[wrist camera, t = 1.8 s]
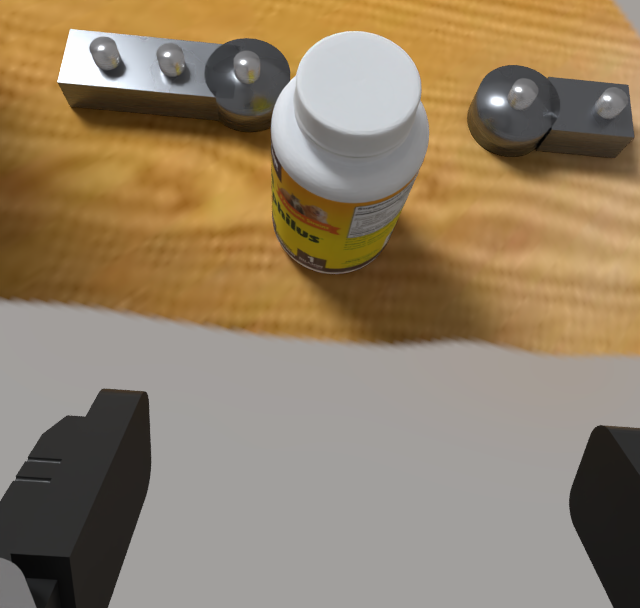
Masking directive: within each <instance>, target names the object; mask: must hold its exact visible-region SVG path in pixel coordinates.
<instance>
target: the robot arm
mask: <svg viewBox="0 0 640 608" xmlns="http://www.w3.org/2000/svg"><path fill="white" fill-rule="evenodd" d="M150 472H151V443H150V419H149V399H148V395H147V393H146V392H144V391H130V390H116V389H102V390H101V391H100V392H99V394H98V395H97V397H96V399H95V401H94V403H93V404H92V406H91V408H90V410H89V412H88V413H87V415H86V417H82V416H81V417H80V416H66V417H64V418H63V419H62V420H60V421H59V422H58V423H57V424H55V425H54V426H52V427H51V428H50V429H49V430H47V431H46V432H45V433H43V434H42V436H41V437H40V439H39V440H38V442H37V444H36V445H35V447H34V448H33V450H32V451H31V453H30V455H29V456H28V461H27V462H25V463H24V464H23V466H22V467H21V469H20V471H19V472H18V474H17V475H16V480H15V481H13V482H12V483H11V485H10V486H9V488H8V490H7V491H6V493H5V494H4V496H3V498H2V499H1V501H0V608H108V605H109V602H110V600H111V597H112V594H113V591H114V588H115V585H116V582H117V579H118V576H119V573H120V570H121V567H122V565H123V561H124V559H125V556H126V553H127V550H128V547H129V544H130V541H131V538H132V535H133V532H134V530H135V527H136V524H137V521H138V518H139V515H140V512H141V509H142V506H143V503H144V500H145V497H146V494H147V490H148V485H149V480H150ZM569 507H570V515H571V519H572V522H573V525H574V527H575V529H576V531H577V533H578V536H579V537H580V540H581V542H582V544H583V546H584V548H585V550H586V552H587V554H588V556H589V558H590V560H591V562H592V564H593V566H594V569H595V570H596V573H597V575H598V577H599V579H600V581H601V583H602V585H603V587H604V589H605V591H606V593H607V595H608V597H609V599H610V601H611V603H612V605H613V608H640V428H630V427H616V426H602V425H600V426H597V427H595V428H594V430H593V431H592V433H591V435H590V438H589V440H588V443H587V446H586V449H585V451H584V454H583V457H582V460H581V462H580V465H579V468H578V471H577V474H576V476H575V479H574V482H573V485H572V488H571V491H570V498H569Z"/></svg>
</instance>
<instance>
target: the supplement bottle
mask: <svg viewBox="0 0 640 608" xmlns="http://www.w3.org/2000/svg"><path fill="white" fill-rule="evenodd" d="M420 98H421V79H420V76H419V72H418V70H417V68H416V66H415V64H414V62H413V61H412V59H411V58H410V57H409V55H408V54H407V53H406V52H405V51H404V50H403V49H402V48H401V47H399V46H398V45H396V44H395V43H393V42H392V41H390V40H388V39H386V38H384V37H381V36H379V35H376V34H372V33H367V32H360V31H348V32H342V33H337V34H334V35H331V36H328V37H326V38H324V39H322V40H320V41H319V42H317V43H316V44H315V45H313V46H312V47H311V48H310V49H309V50H308V51H307V53H306V54H305V55H304V57H303V58H302V60H301V62H300V64H299V67H298V70H297V75H296V76H295V77H294V78H293V79H292V80H291V81H290V82H289V83H288V84H287V85H286V86H285V87H284V89H283V90H282V92H281V94H280V95H279V97H278V99H277V101H276V104H275V107H274V110H273V114H272V121H271V161H272V167H271V172H272V173H271V176H272V219H273V226H274V230H275V233H276V236H277V239H278V241H279V242H280V244H281V246H282V247H283V249H284V250H285V251H286V252H287V253H288V255H289V256H290V257H292V258H293V259H294V260H295V261H297V262H298V263H299V264H301V265H303V266H304V267H306V268H309V269H311V270H314V271H317V272H321V273H327V274H342V273H348V272H352V271H355V270H358V269H360V268H362V267H364V266H366V265H367V264H369V263H370V262H372V261H373V260H374V259H375V258H376V257H377V256H378V255H379V254H380V253H381V252H382V250H383V249H384V247H385V246H386V244H387V242H388V240H389V238H390V236H391V234H392V231H393V229H394V227H395V225H396V222H397V220H398V218H399V215H400V213H401V211H402V208H403V206H404V204H405V202H406V200H407V197H408V195H409V192H410V190H411V188H412V186H413V183H414V181H415V179H416V177H417V175H418V172H419V169H420V167H421V165H422V163H423V160H424V157H425V154H426V151H427V147H428V141H429V125H428V119H427V115H426V112H425V109H424V107H423V104H422V102H421V101H420Z"/></svg>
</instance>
